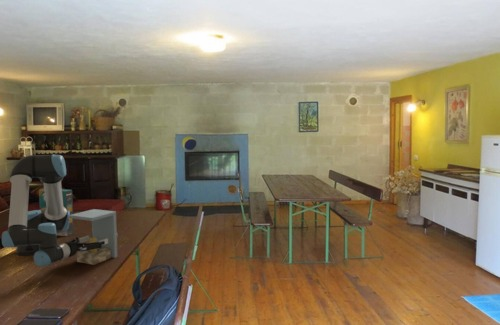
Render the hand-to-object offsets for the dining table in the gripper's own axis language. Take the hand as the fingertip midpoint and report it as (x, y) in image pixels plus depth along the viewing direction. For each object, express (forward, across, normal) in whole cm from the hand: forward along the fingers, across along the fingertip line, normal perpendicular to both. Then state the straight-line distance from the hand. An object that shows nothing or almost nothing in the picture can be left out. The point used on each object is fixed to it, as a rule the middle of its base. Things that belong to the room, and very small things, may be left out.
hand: (98, 239), depth 215 cm
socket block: (-3, 0, -10) cm, 11 cm away
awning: (-3, 0, -10) cm, 11 cm away
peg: (-3, 0, -10) cm, 11 cm away
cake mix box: (+26, -63, -11) cm, 69 cm away
